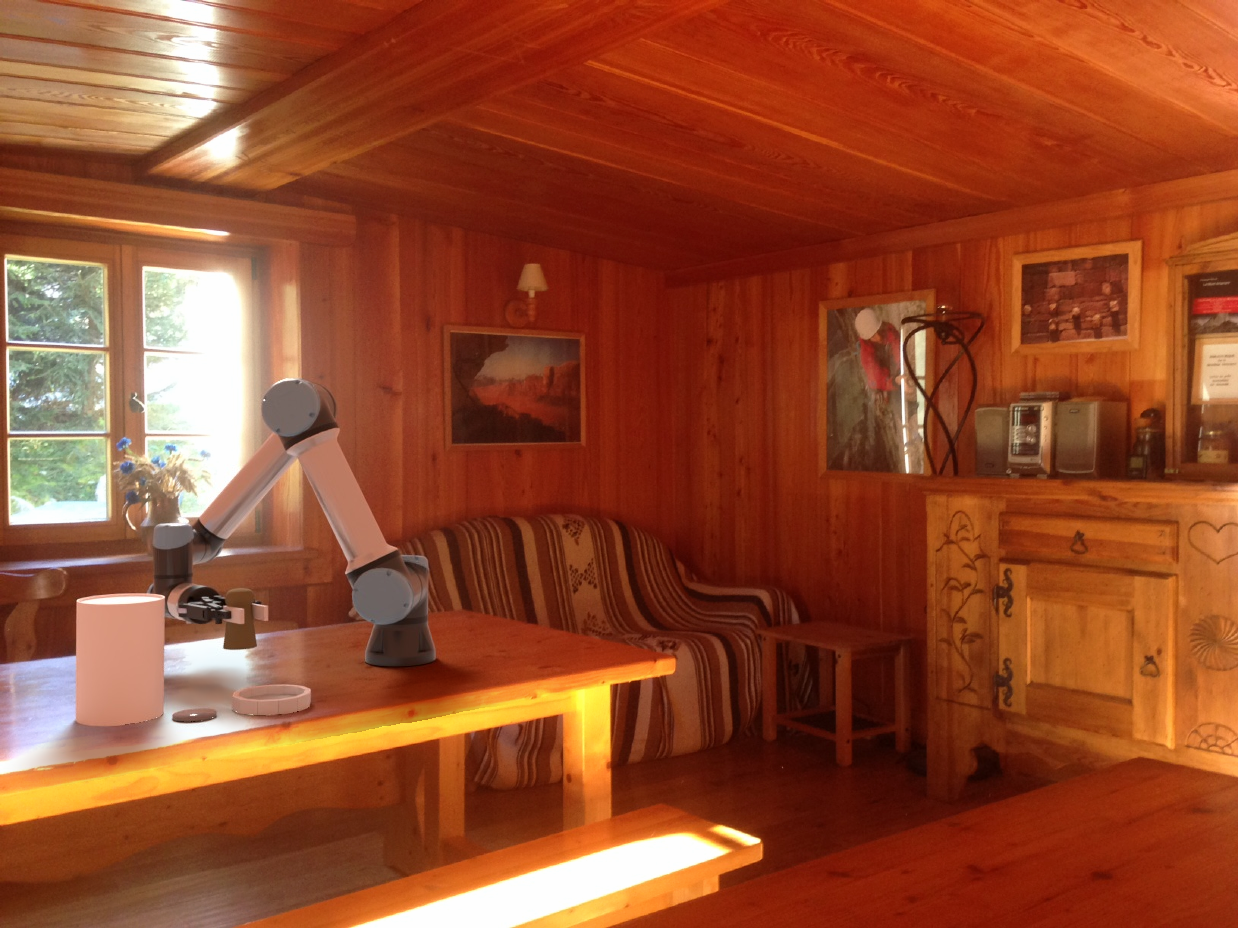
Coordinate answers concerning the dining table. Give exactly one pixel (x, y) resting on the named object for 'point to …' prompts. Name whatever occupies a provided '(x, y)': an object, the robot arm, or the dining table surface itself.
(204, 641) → the dining table surface
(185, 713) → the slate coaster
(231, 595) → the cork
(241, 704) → the pink flat ring
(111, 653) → the canister
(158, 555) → the robot arm
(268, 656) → the dining table surface
